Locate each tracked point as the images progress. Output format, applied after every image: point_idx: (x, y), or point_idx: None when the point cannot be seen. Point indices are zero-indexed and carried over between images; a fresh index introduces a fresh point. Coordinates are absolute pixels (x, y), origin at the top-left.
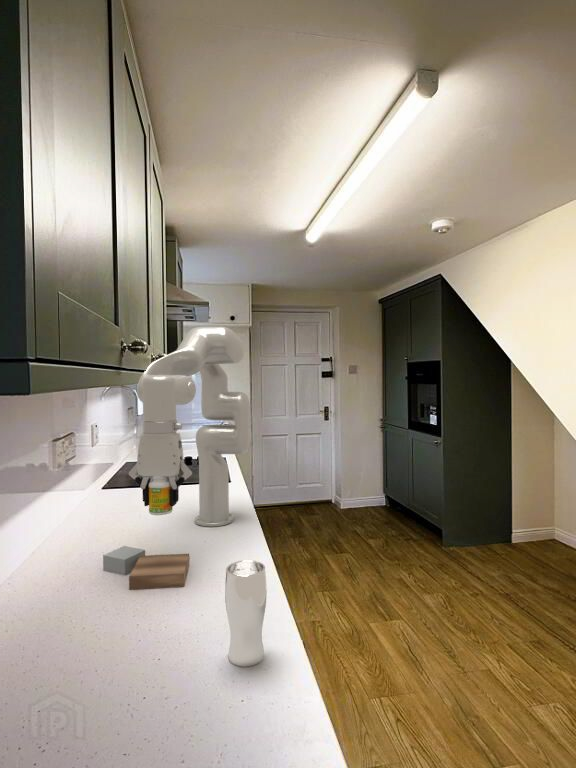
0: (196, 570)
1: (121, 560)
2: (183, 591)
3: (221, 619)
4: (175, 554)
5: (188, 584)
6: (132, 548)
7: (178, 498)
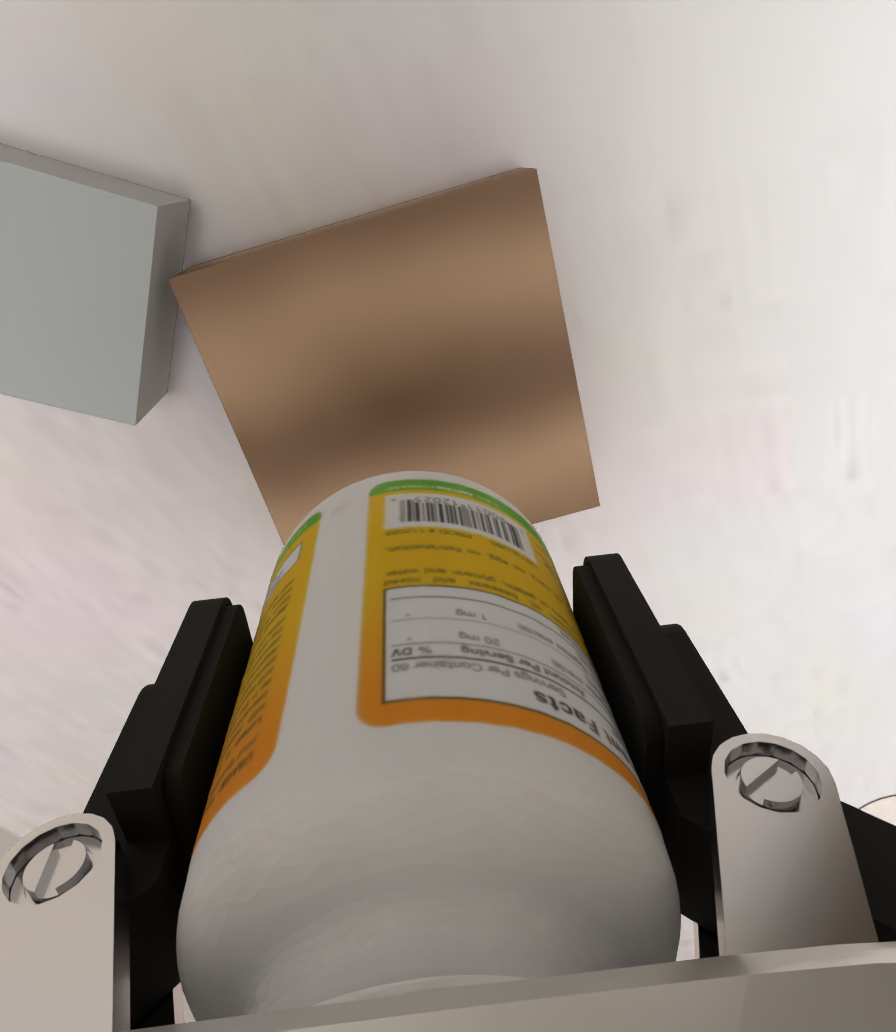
0: (592, 246)
1: (106, 413)
2: (592, 518)
3: (801, 691)
4: (431, 208)
5: (596, 443)
6: (23, 188)
7: (682, 632)
